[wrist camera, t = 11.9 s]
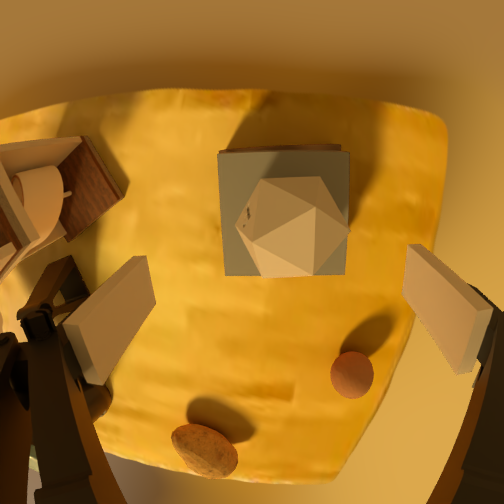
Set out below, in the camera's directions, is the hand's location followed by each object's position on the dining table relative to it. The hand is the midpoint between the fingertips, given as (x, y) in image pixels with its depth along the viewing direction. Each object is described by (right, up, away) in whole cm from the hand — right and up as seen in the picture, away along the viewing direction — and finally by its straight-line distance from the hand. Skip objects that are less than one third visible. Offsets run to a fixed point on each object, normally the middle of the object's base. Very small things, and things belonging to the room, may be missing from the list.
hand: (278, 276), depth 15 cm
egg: (+14, -15, +31) cm, 37 cm away
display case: (-26, +10, +25) cm, 37 cm away
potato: (-10, -35, +40) cm, 54 cm away
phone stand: (-31, -4, +30) cm, 43 cm away
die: (+2, +4, +14) cm, 15 cm away
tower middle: (+2, +6, +19) cm, 20 cm away
